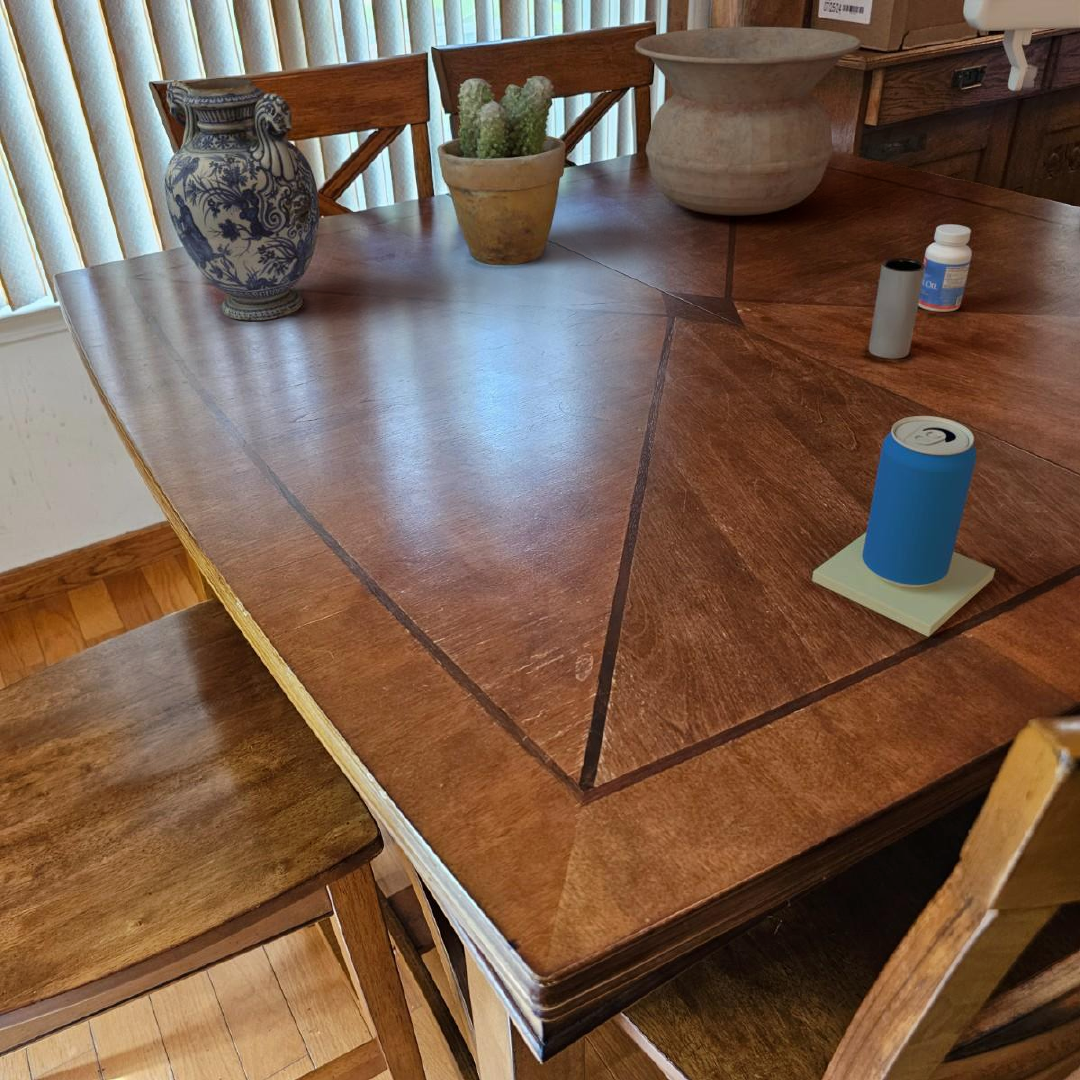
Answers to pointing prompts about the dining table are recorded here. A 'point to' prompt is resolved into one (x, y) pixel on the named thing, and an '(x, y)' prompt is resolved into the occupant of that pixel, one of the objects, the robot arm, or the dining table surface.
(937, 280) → the pill bottle
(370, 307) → the dining table surface
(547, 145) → the potted plant
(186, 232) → the decorative vase
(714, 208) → the pot
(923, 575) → the beverage can
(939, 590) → the mat
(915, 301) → the grey cup
